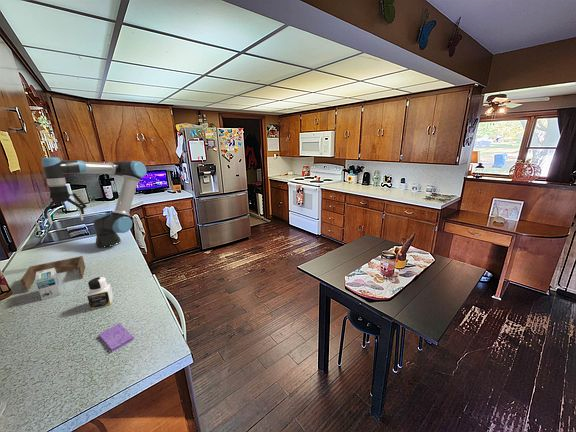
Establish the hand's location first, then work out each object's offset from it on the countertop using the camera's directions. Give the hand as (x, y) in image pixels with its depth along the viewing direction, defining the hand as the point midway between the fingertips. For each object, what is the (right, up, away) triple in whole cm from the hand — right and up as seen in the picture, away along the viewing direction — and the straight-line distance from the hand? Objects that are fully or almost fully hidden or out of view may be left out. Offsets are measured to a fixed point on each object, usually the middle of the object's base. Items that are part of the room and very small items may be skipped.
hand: (67, 221), depth 137 cm
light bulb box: (+15, -34, -23) cm, 44 cm away
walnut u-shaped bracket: (+5, -30, -10) cm, 32 cm away
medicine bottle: (+46, -36, -31) cm, 66 cm away
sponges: (+67, -42, -51) cm, 94 cm away
